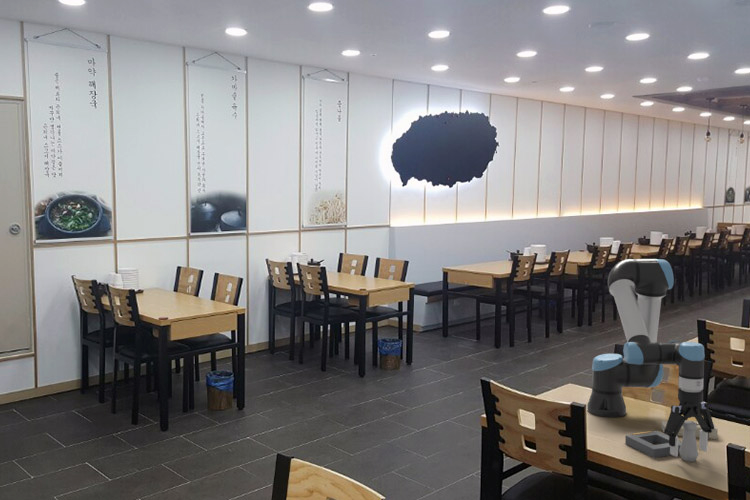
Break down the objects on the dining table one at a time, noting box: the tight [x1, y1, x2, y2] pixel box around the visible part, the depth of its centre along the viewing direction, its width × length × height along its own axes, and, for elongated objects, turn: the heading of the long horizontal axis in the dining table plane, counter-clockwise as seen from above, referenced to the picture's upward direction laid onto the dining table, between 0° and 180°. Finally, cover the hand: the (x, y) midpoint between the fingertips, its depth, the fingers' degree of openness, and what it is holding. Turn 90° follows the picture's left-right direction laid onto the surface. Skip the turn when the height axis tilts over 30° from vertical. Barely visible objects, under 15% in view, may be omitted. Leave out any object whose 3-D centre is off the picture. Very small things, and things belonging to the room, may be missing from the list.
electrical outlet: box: [661, 420, 718, 440], centre depth 248 cm, size 7×4×18 cm
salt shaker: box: [679, 420, 699, 463], centre depth 223 cm, size 6×6×13 cm
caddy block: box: [625, 430, 682, 459], centre depth 233 cm, size 14×14×3 cm
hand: (688, 452), depth 223 cm, fingers open, 12 cm apart
